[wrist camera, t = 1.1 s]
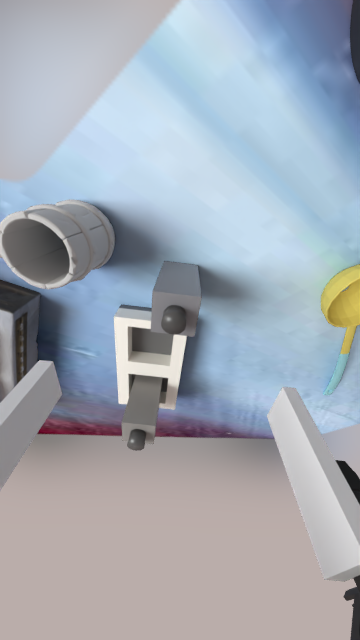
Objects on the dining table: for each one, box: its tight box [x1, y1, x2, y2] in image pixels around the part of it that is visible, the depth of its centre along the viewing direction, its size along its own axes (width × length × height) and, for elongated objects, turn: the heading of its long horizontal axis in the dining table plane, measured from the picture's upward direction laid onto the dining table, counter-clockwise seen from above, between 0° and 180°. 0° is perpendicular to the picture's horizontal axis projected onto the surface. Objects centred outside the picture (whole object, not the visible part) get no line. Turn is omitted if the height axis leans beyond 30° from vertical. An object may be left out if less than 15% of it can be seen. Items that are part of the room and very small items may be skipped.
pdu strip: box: [114, 305, 187, 409], centre depth 33 cm, size 10×18×4 cm, turn 173°
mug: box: [0, 200, 115, 289], centre depth 21 cm, size 8×12×12 cm, turn 88°
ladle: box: [321, 264, 360, 395], centre depth 31 cm, size 9×26×6 cm, turn 15°
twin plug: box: [122, 374, 163, 450], centre depth 32 cm, size 4×4×12 cm
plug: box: [151, 261, 202, 337], centre depth 23 cm, size 4×4×12 cm
